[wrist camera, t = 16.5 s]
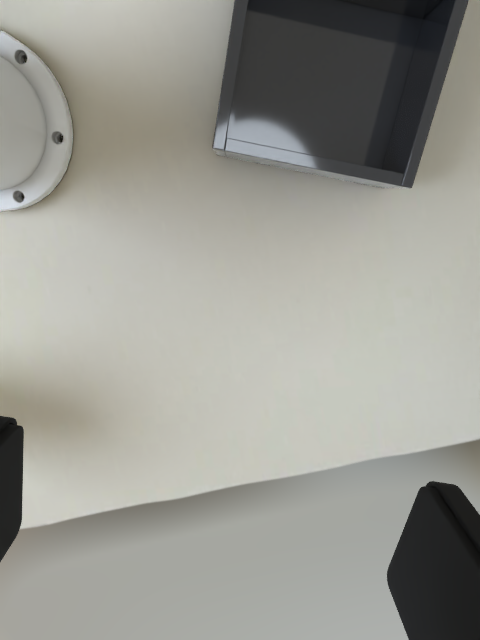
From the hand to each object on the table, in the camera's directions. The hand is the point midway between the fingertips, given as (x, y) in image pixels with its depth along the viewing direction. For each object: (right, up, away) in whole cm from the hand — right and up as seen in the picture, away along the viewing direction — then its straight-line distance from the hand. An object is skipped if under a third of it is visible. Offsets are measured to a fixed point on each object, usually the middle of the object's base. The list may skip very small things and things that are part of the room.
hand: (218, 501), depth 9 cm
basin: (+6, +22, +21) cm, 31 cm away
